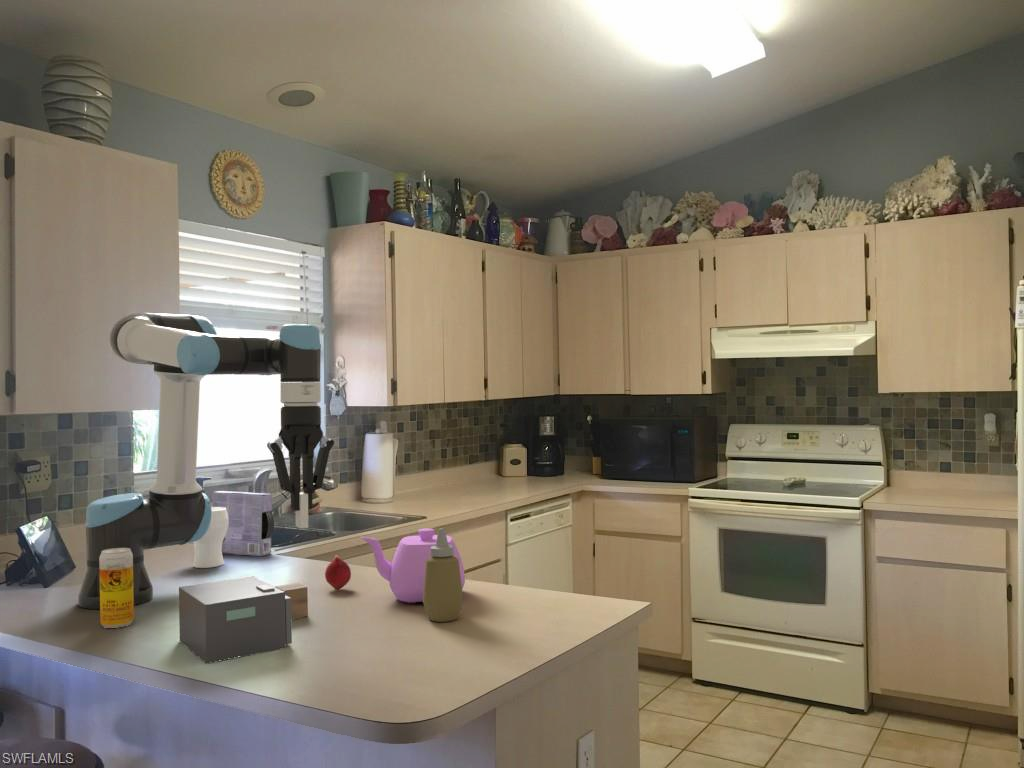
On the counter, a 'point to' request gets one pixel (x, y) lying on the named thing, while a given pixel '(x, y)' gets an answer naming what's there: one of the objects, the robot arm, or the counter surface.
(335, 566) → the onion
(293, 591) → the brown wooden block
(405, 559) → the teapot
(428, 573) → the squeeze bottle
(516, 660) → the counter surface
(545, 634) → the counter surface
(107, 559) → the beer can
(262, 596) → the box
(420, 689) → the counter surface
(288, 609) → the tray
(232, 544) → the cake pan box
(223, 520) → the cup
